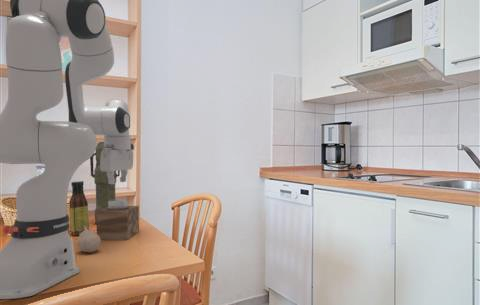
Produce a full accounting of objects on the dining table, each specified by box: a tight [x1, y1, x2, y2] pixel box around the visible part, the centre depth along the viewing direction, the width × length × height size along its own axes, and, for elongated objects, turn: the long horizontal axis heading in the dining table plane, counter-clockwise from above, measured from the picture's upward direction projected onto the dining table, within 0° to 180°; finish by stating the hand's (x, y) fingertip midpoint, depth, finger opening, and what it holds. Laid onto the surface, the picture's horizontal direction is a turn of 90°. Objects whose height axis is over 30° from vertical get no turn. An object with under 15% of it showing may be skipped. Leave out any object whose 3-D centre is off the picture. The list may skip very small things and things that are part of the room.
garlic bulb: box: [77, 226, 102, 253], centre depth 101 cm, size 7×6×8 cm
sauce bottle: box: [69, 180, 90, 237], centre depth 122 cm, size 7×6×20 cm
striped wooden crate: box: [96, 205, 140, 241], centre depth 120 cm, size 11×11×10 cm
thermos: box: [89, 141, 121, 226], centre depth 141 cm, size 9×12×35 cm
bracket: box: [108, 199, 128, 210], centre depth 119 cm, size 2×6×8 cm, turn 86°
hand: (117, 183), depth 119 cm, fingers open, 8 cm apart
